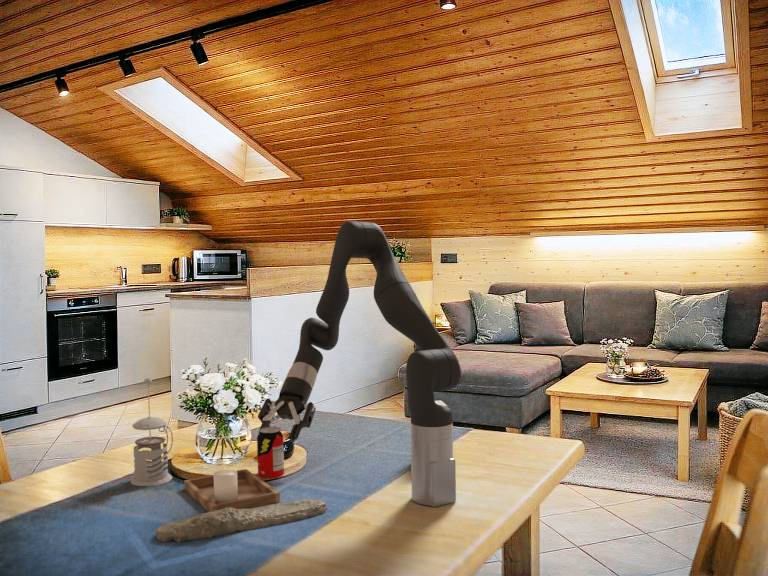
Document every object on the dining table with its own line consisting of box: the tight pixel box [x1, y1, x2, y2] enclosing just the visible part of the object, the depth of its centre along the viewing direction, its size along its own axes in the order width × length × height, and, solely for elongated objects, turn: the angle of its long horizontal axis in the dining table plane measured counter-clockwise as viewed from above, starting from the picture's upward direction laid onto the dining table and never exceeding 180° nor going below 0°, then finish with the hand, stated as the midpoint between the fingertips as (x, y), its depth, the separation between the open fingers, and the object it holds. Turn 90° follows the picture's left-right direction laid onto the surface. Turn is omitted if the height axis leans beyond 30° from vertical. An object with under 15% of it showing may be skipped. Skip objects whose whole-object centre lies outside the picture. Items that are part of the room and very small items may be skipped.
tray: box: [183, 468, 281, 512], centre depth 164 cm, size 20×15×3 cm
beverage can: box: [256, 426, 285, 479], centre depth 179 cm, size 6×6×12 cm
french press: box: [130, 377, 174, 487], centre depth 179 cm, size 10×12×25 cm
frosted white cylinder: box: [212, 469, 238, 504], centre depth 158 cm, size 5×5×7 cm
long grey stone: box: [155, 499, 328, 543], centre depth 148 cm, size 35×5×10 cm
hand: (276, 438), depth 181 cm, fingers open, 8 cm apart
